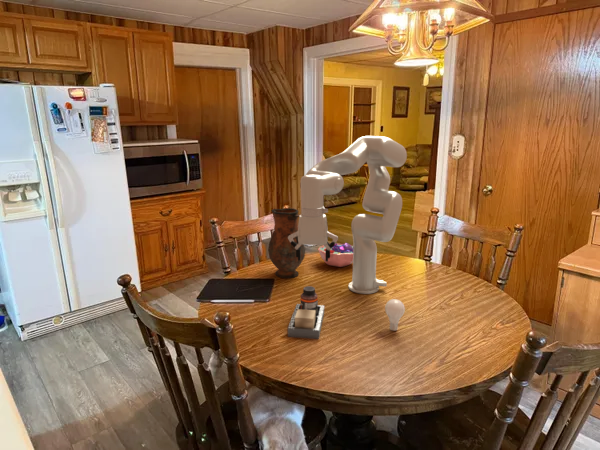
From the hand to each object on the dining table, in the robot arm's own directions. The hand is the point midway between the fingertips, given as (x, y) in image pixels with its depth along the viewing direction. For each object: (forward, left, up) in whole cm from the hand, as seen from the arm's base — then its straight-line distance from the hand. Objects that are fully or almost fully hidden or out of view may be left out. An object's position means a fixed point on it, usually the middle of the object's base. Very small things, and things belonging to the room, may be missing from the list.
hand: (313, 259), depth 141 cm
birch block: (+1, +13, -20) cm, 24 cm away
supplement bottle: (+1, +4, -21) cm, 21 cm away
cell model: (-6, -54, -22) cm, 59 cm away
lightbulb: (-28, +7, -22) cm, 36 cm away
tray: (+1, +9, -21) cm, 23 cm away
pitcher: (+15, -37, -22) cm, 46 cm away
